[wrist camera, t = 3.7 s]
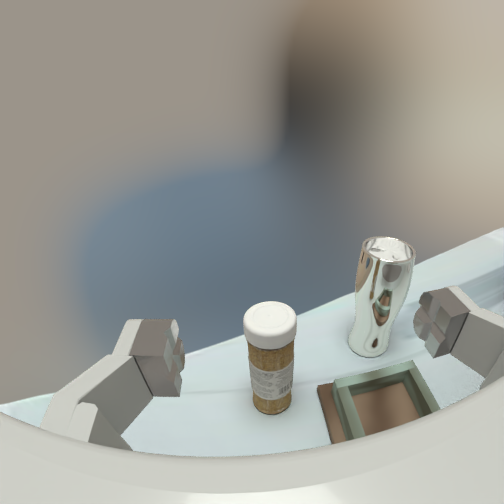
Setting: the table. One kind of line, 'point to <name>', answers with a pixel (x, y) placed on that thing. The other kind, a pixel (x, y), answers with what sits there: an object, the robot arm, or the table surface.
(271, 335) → the sprinkles bottle
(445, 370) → the table surface
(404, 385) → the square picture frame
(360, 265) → the beer glass
